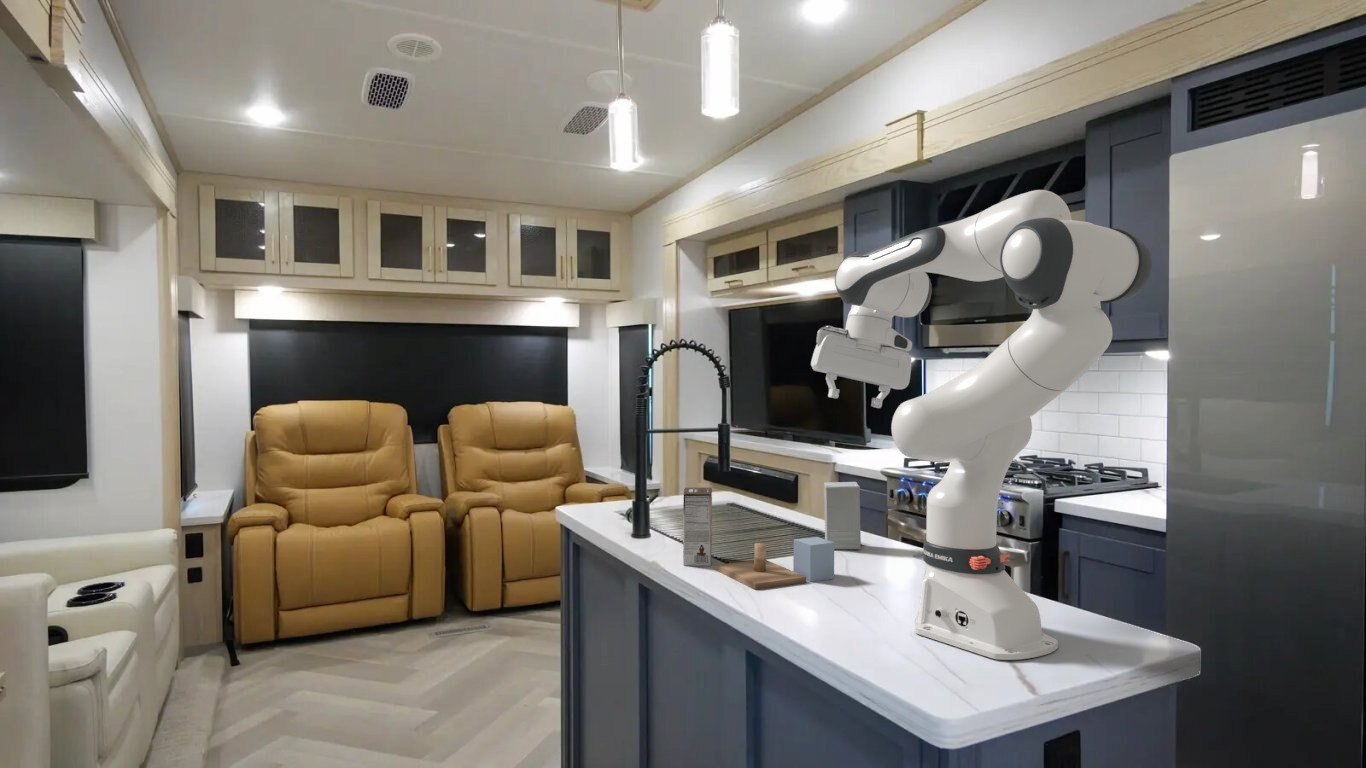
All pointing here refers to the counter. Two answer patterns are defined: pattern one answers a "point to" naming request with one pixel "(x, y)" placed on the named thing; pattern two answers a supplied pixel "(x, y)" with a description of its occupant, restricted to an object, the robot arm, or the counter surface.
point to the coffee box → (697, 526)
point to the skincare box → (842, 514)
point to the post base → (760, 571)
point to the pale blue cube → (814, 558)
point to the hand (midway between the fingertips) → (854, 402)
